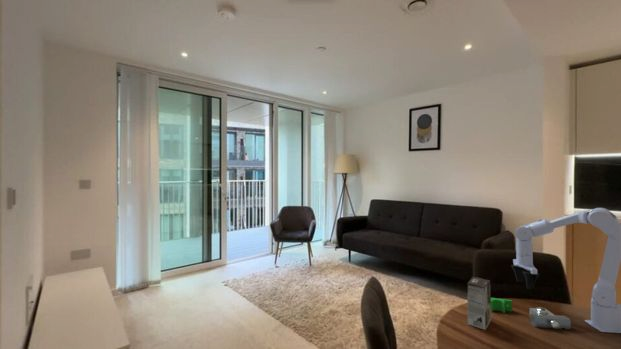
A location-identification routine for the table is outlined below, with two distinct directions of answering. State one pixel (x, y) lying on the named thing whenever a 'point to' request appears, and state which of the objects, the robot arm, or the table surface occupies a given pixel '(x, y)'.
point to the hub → (539, 311)
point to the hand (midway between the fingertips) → (524, 285)
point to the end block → (550, 321)
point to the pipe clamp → (501, 304)
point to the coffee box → (479, 302)
